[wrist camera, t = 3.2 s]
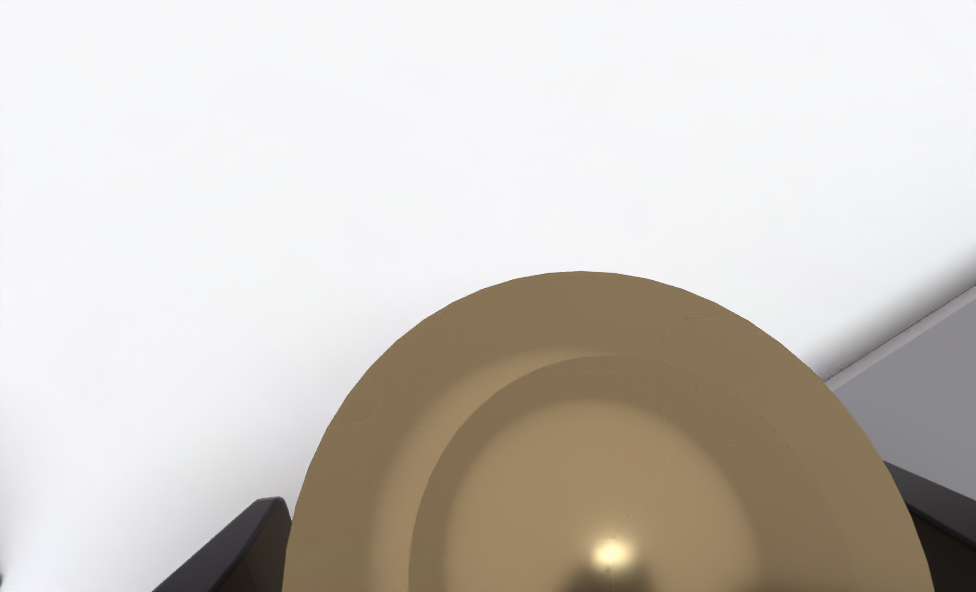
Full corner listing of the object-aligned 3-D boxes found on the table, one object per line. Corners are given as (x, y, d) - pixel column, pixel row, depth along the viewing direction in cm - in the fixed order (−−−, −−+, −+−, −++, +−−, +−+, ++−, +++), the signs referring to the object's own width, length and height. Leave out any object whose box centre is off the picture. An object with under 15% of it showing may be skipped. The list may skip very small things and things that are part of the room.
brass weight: (497, 669, 14) (456, 1700, 2) (414, 491, 16) (127, 412, 4) (652, 564, 15) (1314, 781, 3) (556, 408, 16) (696, 128, 5)
